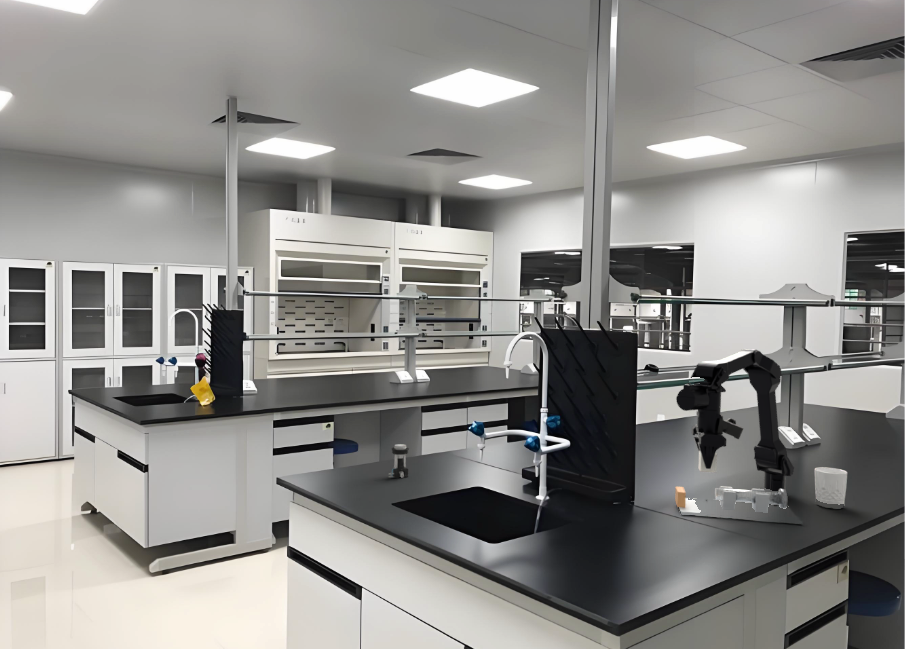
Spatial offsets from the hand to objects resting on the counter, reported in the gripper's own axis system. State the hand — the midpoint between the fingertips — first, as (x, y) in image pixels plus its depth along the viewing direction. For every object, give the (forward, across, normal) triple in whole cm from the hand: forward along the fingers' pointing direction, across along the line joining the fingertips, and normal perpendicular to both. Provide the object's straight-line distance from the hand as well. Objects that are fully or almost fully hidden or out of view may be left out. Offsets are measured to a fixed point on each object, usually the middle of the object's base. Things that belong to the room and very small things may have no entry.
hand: (706, 466), depth 180 cm
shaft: (+9, 0, -11) cm, 15 cm away
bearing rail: (+12, 0, -8) cm, 14 cm away
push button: (+13, +10, +89) cm, 91 cm away
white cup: (+11, +14, -35) cm, 39 cm away
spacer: (+1, 0, 0) cm, 1 cm away
